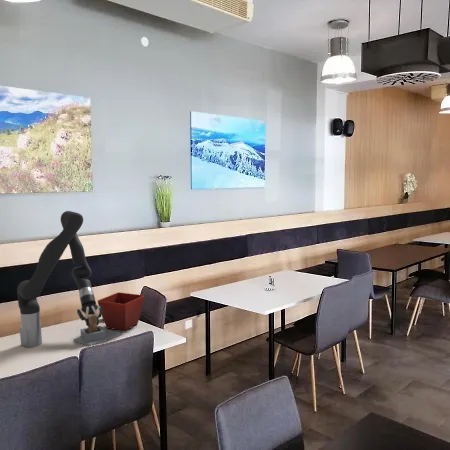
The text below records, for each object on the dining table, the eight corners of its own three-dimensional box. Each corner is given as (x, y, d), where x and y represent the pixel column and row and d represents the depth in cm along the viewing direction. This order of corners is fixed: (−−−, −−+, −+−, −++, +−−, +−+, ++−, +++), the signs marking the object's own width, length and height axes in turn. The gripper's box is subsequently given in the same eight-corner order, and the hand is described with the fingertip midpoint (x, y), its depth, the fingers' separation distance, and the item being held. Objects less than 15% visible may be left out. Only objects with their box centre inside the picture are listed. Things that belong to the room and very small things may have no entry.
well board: (90, 346, 228) (89, 336, 228) (73, 340, 237) (73, 331, 236) (121, 334, 244) (120, 325, 244) (104, 329, 253) (103, 321, 252)
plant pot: (125, 333, 246) (124, 303, 244) (98, 329, 254) (96, 300, 252) (145, 323, 263) (144, 295, 261) (119, 319, 271) (118, 292, 269)
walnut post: (89, 333, 235) (88, 316, 234) (88, 331, 239) (87, 314, 238) (97, 331, 237) (96, 315, 236) (95, 329, 240) (94, 313, 239)
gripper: (74, 295, 239) (80, 324, 230) (101, 291, 246) (107, 319, 236) (73, 303, 244) (78, 331, 235) (99, 299, 251) (106, 326, 242)
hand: (93, 325), depth 236 cm, fingers closed on walnut post, 4 cm apart
